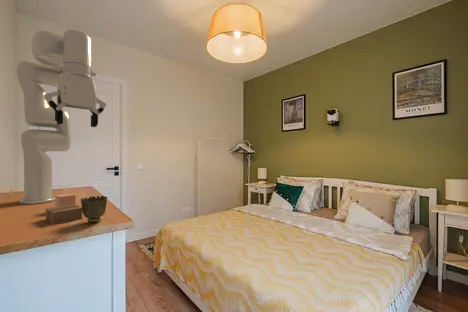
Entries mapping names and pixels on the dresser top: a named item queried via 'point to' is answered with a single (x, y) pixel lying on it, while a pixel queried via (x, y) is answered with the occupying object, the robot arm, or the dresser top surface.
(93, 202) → the cup
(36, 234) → the dresser top surface
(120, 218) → the dresser top surface
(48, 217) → the walnut block
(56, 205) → the terracotta block
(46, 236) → the dresser top surface
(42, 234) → the dresser top surface
